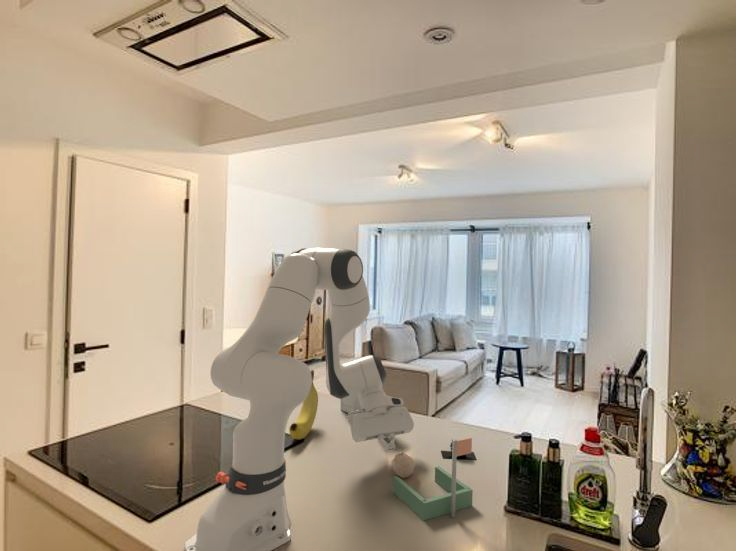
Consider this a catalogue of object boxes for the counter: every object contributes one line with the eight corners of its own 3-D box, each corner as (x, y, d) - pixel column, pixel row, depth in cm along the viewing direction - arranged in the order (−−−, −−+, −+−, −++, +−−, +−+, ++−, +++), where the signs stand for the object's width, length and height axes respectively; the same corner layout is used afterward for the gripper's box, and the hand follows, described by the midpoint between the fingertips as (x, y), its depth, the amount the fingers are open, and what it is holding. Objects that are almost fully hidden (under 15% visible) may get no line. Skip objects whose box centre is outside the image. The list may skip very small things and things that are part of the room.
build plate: (477, 453, 137) (477, 438, 137) (482, 464, 130) (482, 448, 130) (435, 451, 138) (436, 435, 138) (438, 461, 130) (438, 445, 130)
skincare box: (363, 412, 172) (364, 375, 172) (352, 415, 168) (353, 377, 168) (350, 407, 178) (350, 371, 178) (338, 410, 174) (339, 373, 174)
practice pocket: (393, 492, 111) (394, 423, 111) (438, 480, 118) (439, 415, 117) (428, 525, 97) (430, 446, 97) (478, 510, 103) (479, 436, 103)
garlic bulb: (387, 475, 120) (387, 447, 120) (402, 468, 125) (402, 440, 124) (405, 484, 115) (405, 454, 115) (419, 476, 120) (420, 448, 120)
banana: (301, 448, 137) (302, 385, 137) (284, 446, 138) (285, 384, 138) (320, 423, 159) (321, 369, 159) (305, 421, 160) (306, 368, 160)
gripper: (348, 406, 128) (362, 451, 120) (406, 398, 137) (423, 439, 129) (342, 416, 132) (355, 461, 124) (399, 408, 142) (415, 448, 133)
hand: (390, 450), depth 126 cm, fingers closed
